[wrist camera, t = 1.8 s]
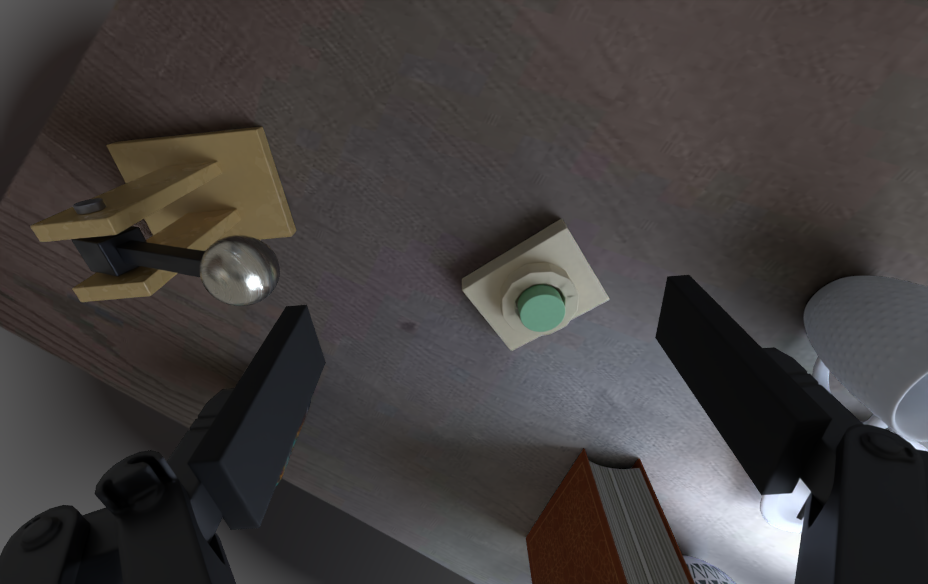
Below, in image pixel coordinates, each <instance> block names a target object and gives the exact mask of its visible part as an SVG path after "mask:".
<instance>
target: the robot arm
mask: <svg viewBox="0 0 928 584" xmlns="http://www.w3.org/2000/svg"><path fill="white" fill-rule="evenodd" d="M655 338H656V339H657V341H658V342H659V344H660V345H661V347H662V348H663V350H664V351H665V353H666V354H667V356H668V357H669V359H670V360H671V362H672V363H673V364H674V366H675V367H676V369H677V370H678V372H679V373H680V375H681V376H682V378H683V379H684V381H685V382H686V384H687V385H688V387H689V388H690V390H691V391H692V393H693V394H694V396H695V397H696V399H697V400H698V402H699V403H700V405H701V406H702V408H703V409H704V410H705V412H706V413H707V415H708V416H709V418H710V419H711V421H712V422H713V424H714V425H715V427H716V428H717V430H718V431H719V433H720V434H721V436H722V437H723V439H724V440H725V442H726V443H727V445H728V446H729V448H730V449H731V451H732V452H733V453H734V455H735V456H736V458H737V459H738V461H739V462H740V464H741V465H742V467H743V468H744V470H745V471H746V473H747V474H748V476H749V477H750V479H751V480H752V482H753V483H754V485H755V486H756V488H757V489H758V491H759V492H760V494H761V495H774V494H789V493H792V492H793V490H794V489H795V487H796V485H797V483H798V481H799V479H801V480H802V481H803V482H804V484H805V485H806V486H807V487H808V489H809V490H810V491H811V493H810V494H809V496H808V498H807V499H806V501H805V503H804V505H803V506H802V508H801V510H800V512H799V513H798V515H797V517H796V518H798V519H800V520H802V519H803V517H804V520H803V527H802V534H801V541H800V548H799V555H798V563H797V570H796V577H795V584H928V451H923V450H917V449H916V448H915V447H914V446H913V445H912V444H911V443H909V442H908V441H906V440H905V439H903V438H902V437H900V436H899V435H897V434H895V433H893V432H890V431H888V430H886V429H884V428H880V427H876V426H872V425H868V424H863V423H862V422H860V421H859V420H858V419H857V418H856V417H855V416H854V415H853V414H852V413H851V412H850V411H849V410H848V409H847V408H846V407H844V406H843V405H842V404H841V403H840V402H839V401H838V400H837V399H836V398H835V397H834V396H833V395H832V394H831V393H830V392H829V391H827V390H826V389H825V388H824V387H823V386H822V385H819V384H818V381H817V380H816V379H815V378H814V377H813V376H812V375H810V374H807V371H806V370H805V369H804V368H803V367H802V366H801V365H800V364H799V363H798V362H797V361H796V360H795V359H793V358H792V357H790V356H788V355H787V354H785V353H783V352H781V351H779V350H778V349H776V348H761V347H760V346H759V345H758V344H757V343H756V342H755V341H754V340H753V339H752V338H751V337H750V336H749V335H748V334H747V333H746V332H745V331H744V329H743V328H742V327H741V326H740V325H739V324H738V323H737V322H736V321H735V320H734V319H733V318H732V317H731V316H730V315H729V314H728V313H727V312H726V311H725V310H724V309H723V308H722V307H721V306H720V305H719V304H718V303H717V302H716V301H715V300H714V299H713V298H712V297H711V296H710V295H709V294H708V293H707V292H706V291H705V290H704V289H703V288H702V287H701V286H700V285H699V284H698V283H697V282H696V281H695V280H694V279H693V278H692V277H691V276H690V275H681V276H669V277H667V282H666V287H665V292H664V297H663V302H662V307H661V312H660V317H659V322H658V327H657V332H656V337H655ZM325 363H326V362H325V359H324V356H323V353H322V350H321V347H320V344H319V341H318V338H317V335H316V332H315V328H314V325H313V322H312V319H311V316H310V313H309V310H308V307H307V305H298V306H286V308H285V309H284V311H283V312H282V314H281V315H280V317H279V319H278V320H277V322H276V323H275V325H274V326H273V328H272V330H271V331H270V333H269V334H268V336H267V338H266V339H265V341H264V342H263V344H262V345H261V347H260V349H259V350H258V352H257V353H256V355H255V357H254V358H253V360H252V361H251V363H250V364H249V366H248V368H247V369H246V371H245V372H244V374H243V375H242V377H241V379H240V380H239V382H238V383H237V385H236V387H235V388H231V389H222V390H221V391H220V392H219V393H217V394H216V395H215V396H214V397H213V398H212V399H210V400H209V401H208V402H207V403H206V405H205V406H204V408H203V409H202V411H201V412H200V414H199V415H198V419H195V421H194V422H193V424H192V425H191V427H190V431H187V433H186V434H185V436H184V437H183V438H182V440H181V442H180V443H179V444H178V446H177V447H176V449H175V450H174V452H173V453H172V455H171V456H170V458H169V459H168V461H167V462H166V461H165V459H164V458H163V456H162V455H161V454H160V453H159V452H156V451H151V450H150V451H144V452H139V453H136V454H134V455H131V456H129V457H126V458H125V459H123V460H122V461H120V462H118V463H117V464H115V465H114V466H113V467H112V468H110V470H108V471H107V472H106V473H105V474H104V475H103V476H102V478H101V479H100V481H99V482H98V484H97V485H96V490H95V495H96V496H97V497H98V498H99V499H100V500H101V502H102V503H103V504H104V505H105V506H106V508H103V509H100V510H97V511H94V512H91V513H88V514H85V515H81V514H80V512H79V511H78V510H77V509H75V508H74V507H73V506H68V505H62V506H58V507H54V508H51V509H49V510H47V511H45V512H43V513H41V514H39V515H37V516H35V517H34V518H32V519H31V520H29V521H28V522H27V523H25V524H24V525H23V526H22V527H21V528H19V529H18V531H17V532H16V533H14V534H13V536H11V538H10V539H9V541H8V542H7V544H6V546H5V547H4V549H3V551H2V553H1V555H0V584H236V582H235V579H234V576H233V574H232V571H231V568H230V565H229V563H228V560H227V557H226V554H225V552H224V549H223V546H222V543H221V540H220V538H219V537H218V535H217V534H216V530H217V528H218V526H219V523H220V522H221V519H222V517H223V519H224V520H225V522H226V523H227V525H228V526H229V528H230V529H231V530H235V529H249V528H259V527H260V525H261V522H262V520H263V517H264V515H265V512H266V510H267V507H268V505H269V502H270V500H271V497H272V495H273V492H274V490H275V487H276V485H277V482H278V480H279V477H280V475H281V472H282V470H283V467H284V465H285V462H286V460H287V457H288V455H289V452H290V450H291V447H292V445H293V442H294V440H295V437H296V435H297V432H298V430H299V427H300V425H301V423H302V420H303V418H304V415H305V413H306V410H307V408H308V405H309V403H310V400H311V398H312V395H313V393H314V390H315V388H316V385H317V383H318V380H319V378H320V375H321V373H322V370H323V368H324V365H325Z"/></svg>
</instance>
